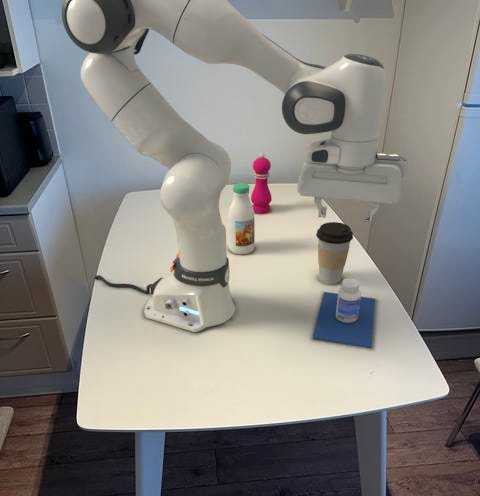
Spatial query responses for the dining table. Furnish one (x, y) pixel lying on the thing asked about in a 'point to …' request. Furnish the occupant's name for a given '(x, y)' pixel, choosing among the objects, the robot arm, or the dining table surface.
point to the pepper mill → (261, 186)
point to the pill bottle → (348, 301)
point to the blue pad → (341, 331)
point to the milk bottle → (241, 221)
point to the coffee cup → (333, 250)
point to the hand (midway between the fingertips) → (344, 218)
